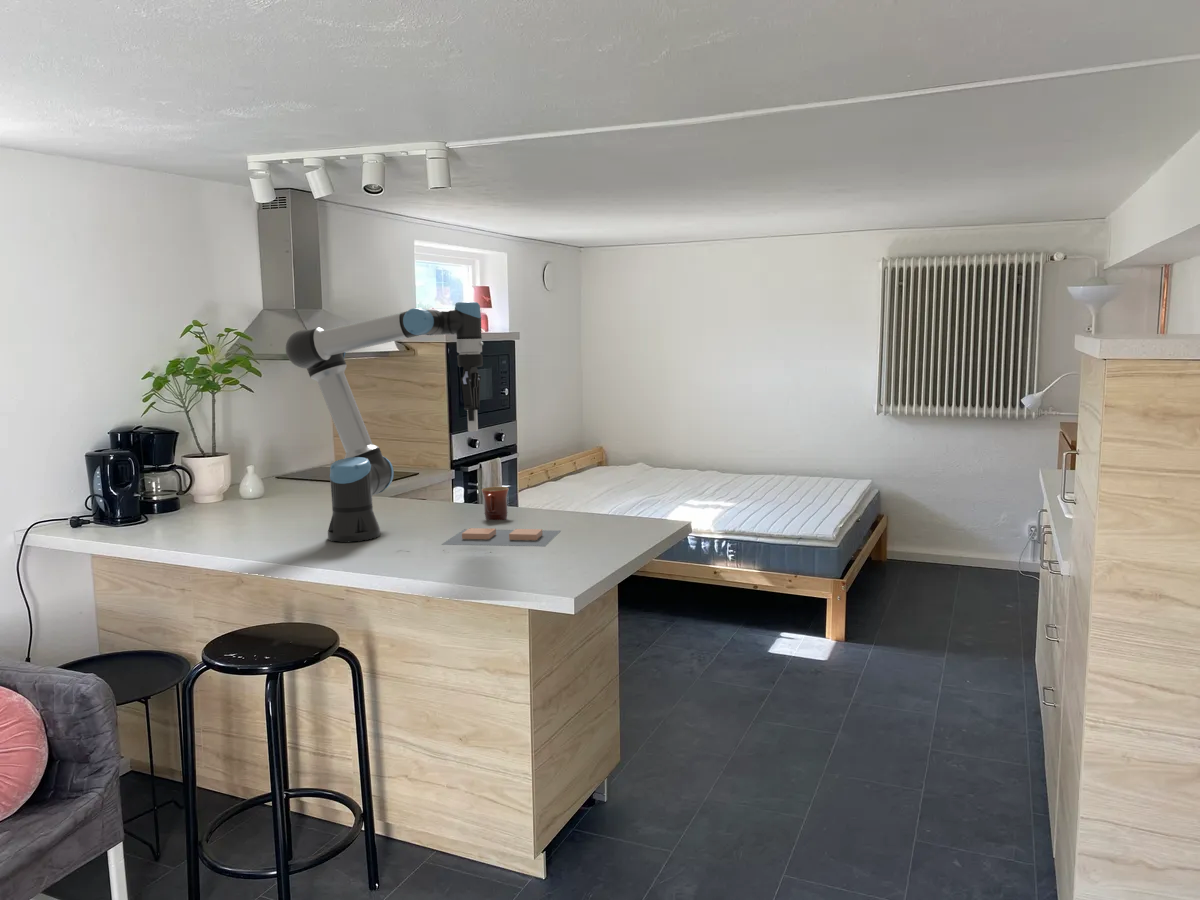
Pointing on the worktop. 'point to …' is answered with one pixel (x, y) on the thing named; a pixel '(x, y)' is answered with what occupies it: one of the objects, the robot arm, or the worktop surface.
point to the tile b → (525, 534)
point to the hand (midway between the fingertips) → (473, 431)
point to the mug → (495, 503)
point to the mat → (503, 539)
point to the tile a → (478, 533)
